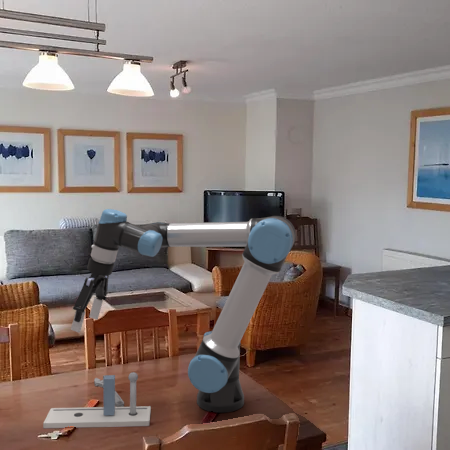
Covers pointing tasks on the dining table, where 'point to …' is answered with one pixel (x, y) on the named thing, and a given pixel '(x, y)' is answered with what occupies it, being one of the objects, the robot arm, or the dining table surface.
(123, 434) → the dining table surface
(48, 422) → the plate
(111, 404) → the post
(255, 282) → the robot arm
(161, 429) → the dining table surface
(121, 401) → the adjustable wrench
